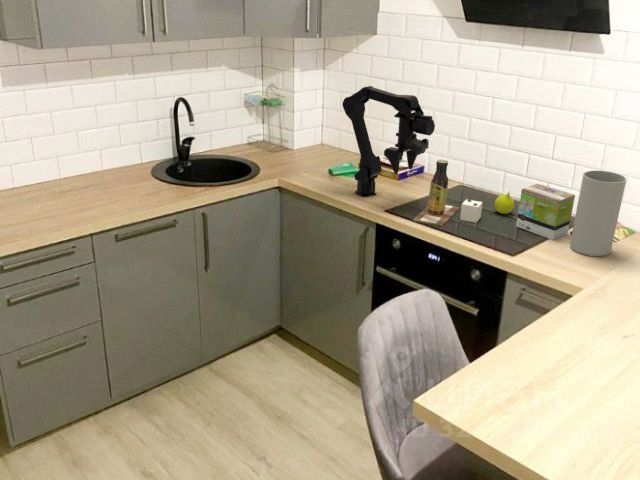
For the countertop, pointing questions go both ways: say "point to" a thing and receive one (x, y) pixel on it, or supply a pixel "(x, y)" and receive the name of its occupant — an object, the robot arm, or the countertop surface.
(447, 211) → the walnut board
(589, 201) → the cylinder vase
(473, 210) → the die
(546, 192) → the tea box
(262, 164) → the countertop surface
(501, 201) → the yellow-green round fruit
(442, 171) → the sauce bottle
